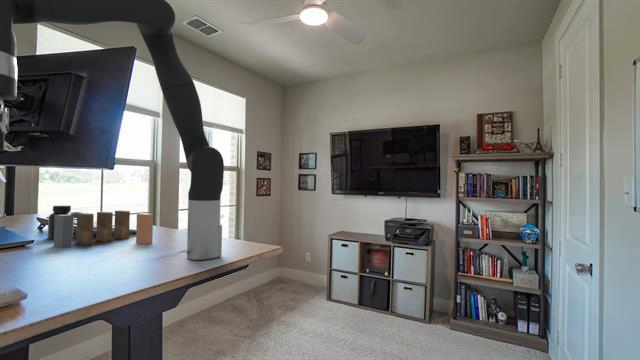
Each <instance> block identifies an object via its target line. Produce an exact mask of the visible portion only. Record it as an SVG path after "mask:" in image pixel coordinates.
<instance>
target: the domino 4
mask: <svg viewBox="0 0 640 360" xmlns="http://www.w3.org/2000/svg"><path fill="white" fill-rule="evenodd" d="M135 228H136V229H135V230H136V233H135V235H136V237H135V244H139V245H151V244H153V238H154V237H153V236H154V235H153V233H154V229H153V228H154V213H146V212H143V213H136V227H135Z"/></svg>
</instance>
